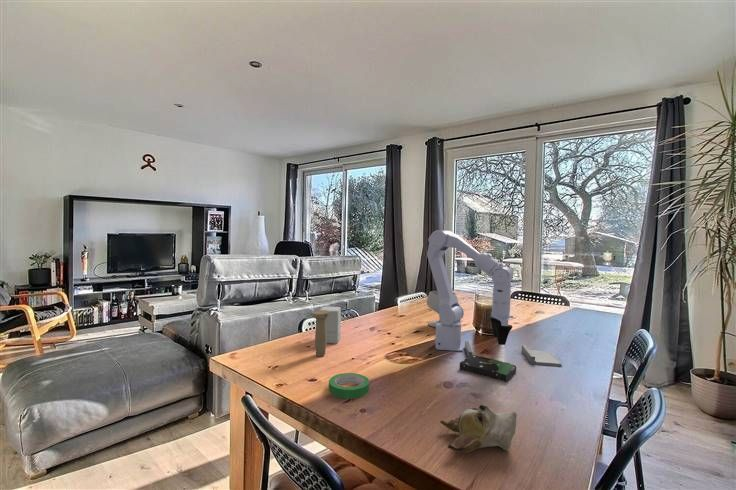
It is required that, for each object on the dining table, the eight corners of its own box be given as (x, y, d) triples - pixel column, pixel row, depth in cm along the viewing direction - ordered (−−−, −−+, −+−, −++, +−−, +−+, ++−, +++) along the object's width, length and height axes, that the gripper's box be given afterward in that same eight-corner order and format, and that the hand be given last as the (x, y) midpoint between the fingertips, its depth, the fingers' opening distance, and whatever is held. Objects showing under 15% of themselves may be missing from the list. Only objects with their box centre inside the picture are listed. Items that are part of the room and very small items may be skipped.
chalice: (420, 326, 162) (421, 293, 162) (433, 319, 174) (434, 289, 173) (450, 331, 154) (451, 297, 154) (461, 324, 166) (462, 292, 165)
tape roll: (347, 377, 106) (348, 369, 106) (377, 389, 99) (377, 379, 99) (320, 390, 98) (320, 381, 98) (350, 404, 91) (350, 393, 91)
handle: (332, 354, 124) (332, 311, 124) (318, 359, 120) (318, 315, 119) (322, 351, 128) (323, 309, 127) (308, 355, 123) (309, 312, 122)
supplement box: (341, 338, 143) (341, 306, 142) (337, 344, 135) (338, 311, 135) (322, 337, 144) (323, 305, 143) (318, 343, 136) (318, 310, 136)
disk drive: (458, 371, 113) (507, 384, 105) (459, 362, 113) (507, 374, 104) (470, 361, 122) (516, 372, 113) (471, 353, 122) (516, 363, 113)
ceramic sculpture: (526, 418, 68) (447, 419, 69) (527, 462, 69) (448, 463, 69) (507, 393, 79) (438, 394, 80) (508, 431, 79) (440, 432, 80)
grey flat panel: (468, 359, 123) (468, 351, 122) (464, 347, 134) (465, 340, 134) (561, 366, 118) (561, 358, 118) (549, 353, 130) (549, 346, 130)
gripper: (518, 307, 115) (516, 348, 116) (508, 298, 130) (506, 335, 131) (496, 306, 117) (494, 347, 117) (488, 297, 131) (486, 333, 132)
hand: (499, 340), depth 124 cm, fingers open, 7 cm apart
